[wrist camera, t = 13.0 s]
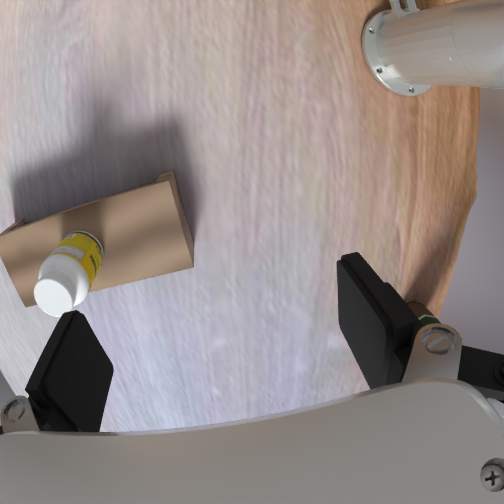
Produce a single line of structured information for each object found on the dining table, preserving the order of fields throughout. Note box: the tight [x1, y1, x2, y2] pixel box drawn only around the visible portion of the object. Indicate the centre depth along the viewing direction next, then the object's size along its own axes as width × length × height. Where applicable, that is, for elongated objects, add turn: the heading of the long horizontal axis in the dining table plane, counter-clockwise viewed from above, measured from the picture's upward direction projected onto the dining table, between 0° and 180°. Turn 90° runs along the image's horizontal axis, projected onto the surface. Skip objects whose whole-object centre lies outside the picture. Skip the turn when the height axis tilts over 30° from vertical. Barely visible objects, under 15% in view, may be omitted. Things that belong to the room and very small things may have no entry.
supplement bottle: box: [34, 231, 104, 317], centre depth 28 cm, size 5×5×10 cm
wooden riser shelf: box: [0, 170, 194, 307], centre depth 35 cm, size 10×24×6 cm, turn 100°
